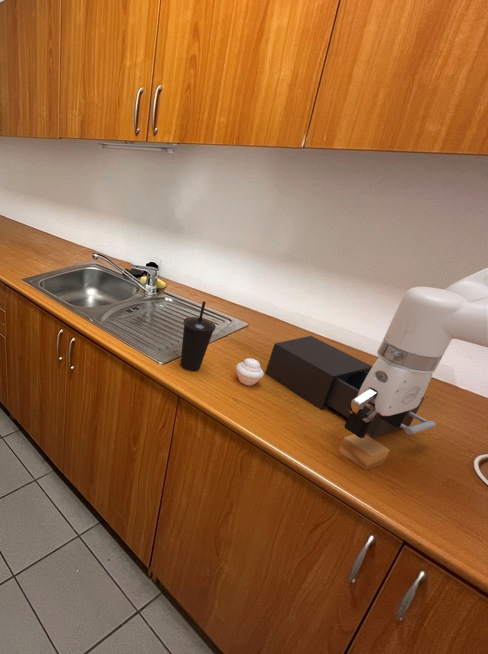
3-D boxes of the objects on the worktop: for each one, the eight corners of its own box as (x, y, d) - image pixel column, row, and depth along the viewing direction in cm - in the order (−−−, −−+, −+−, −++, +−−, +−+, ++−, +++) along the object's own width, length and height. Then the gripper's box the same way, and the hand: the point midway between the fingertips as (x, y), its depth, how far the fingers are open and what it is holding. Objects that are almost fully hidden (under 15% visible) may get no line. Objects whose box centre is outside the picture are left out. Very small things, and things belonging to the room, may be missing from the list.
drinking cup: (175, 371, 108) (189, 306, 100) (174, 356, 114) (186, 294, 106) (207, 377, 105) (223, 310, 97) (203, 361, 112) (218, 297, 104)
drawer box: (358, 399, 96) (373, 366, 93) (320, 409, 93) (333, 376, 90) (300, 365, 109) (310, 335, 106) (264, 373, 106) (274, 343, 102)
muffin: (227, 376, 105) (233, 354, 103) (247, 373, 106) (253, 351, 104) (245, 390, 100) (252, 368, 97) (266, 387, 101) (273, 364, 98)
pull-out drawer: (434, 439, 83) (450, 410, 80) (396, 452, 80) (411, 422, 77) (343, 388, 99) (354, 362, 96) (309, 397, 96) (319, 370, 93)
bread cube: (382, 464, 79) (390, 450, 77) (364, 470, 77) (371, 456, 76) (355, 445, 83) (361, 431, 82) (337, 451, 82) (343, 437, 80)
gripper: (400, 375, 65) (361, 452, 72) (467, 358, 70) (425, 432, 76) (350, 350, 72) (319, 423, 78) (415, 336, 76) (380, 406, 83)
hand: (371, 427), depth 77 cm, fingers open, 9 cm apart
